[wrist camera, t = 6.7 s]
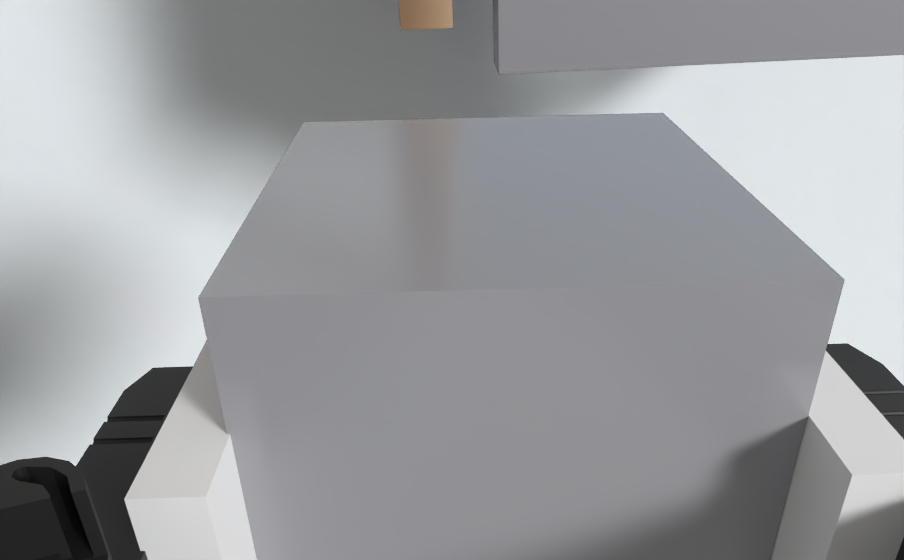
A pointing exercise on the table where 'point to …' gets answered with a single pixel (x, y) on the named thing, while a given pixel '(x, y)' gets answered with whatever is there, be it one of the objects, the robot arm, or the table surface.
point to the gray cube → (514, 345)
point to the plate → (688, 32)
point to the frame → (425, 14)
